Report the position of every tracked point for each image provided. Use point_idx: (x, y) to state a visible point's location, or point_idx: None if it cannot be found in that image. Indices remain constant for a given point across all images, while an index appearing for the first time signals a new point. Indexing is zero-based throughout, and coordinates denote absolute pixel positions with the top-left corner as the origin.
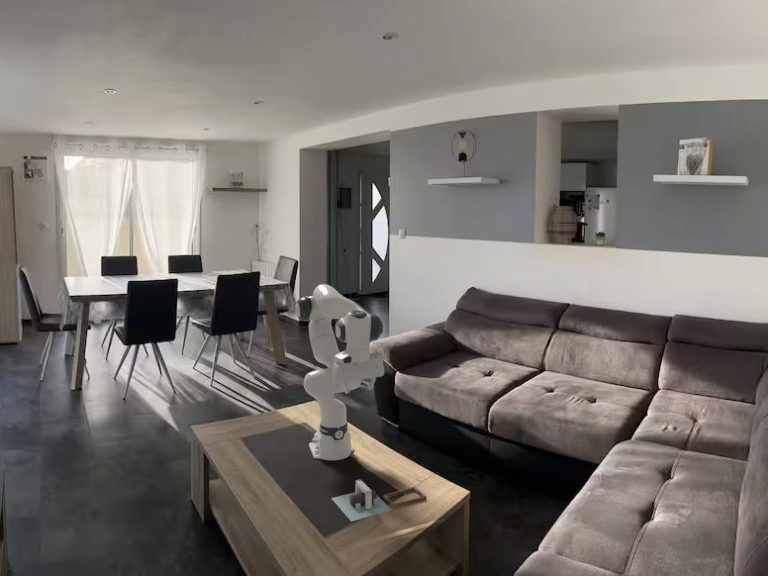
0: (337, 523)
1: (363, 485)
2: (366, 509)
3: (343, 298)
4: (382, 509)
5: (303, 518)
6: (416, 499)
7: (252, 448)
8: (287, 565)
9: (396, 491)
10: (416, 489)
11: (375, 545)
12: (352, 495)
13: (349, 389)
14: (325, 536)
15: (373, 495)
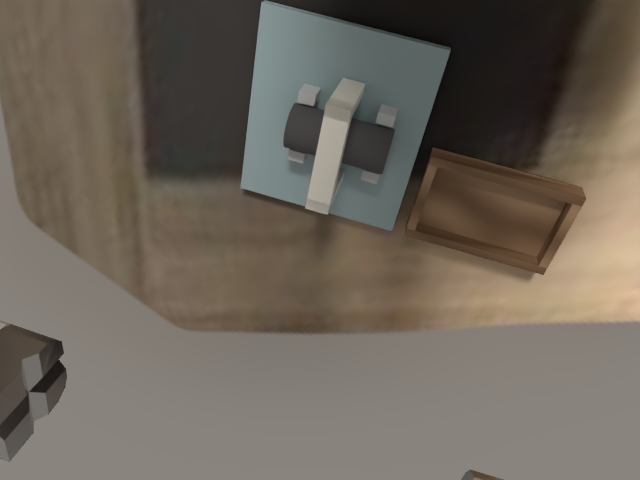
0: (211, 147)
1: (326, 163)
2: None
3: None
4: (368, 207)
5: (123, 38)
6: (499, 261)
7: None
8: (25, 205)
9: (494, 174)
10: (568, 218)
11: (246, 293)
12: (287, 131)
13: (4, 445)
14: (150, 175)
15: (368, 170)
